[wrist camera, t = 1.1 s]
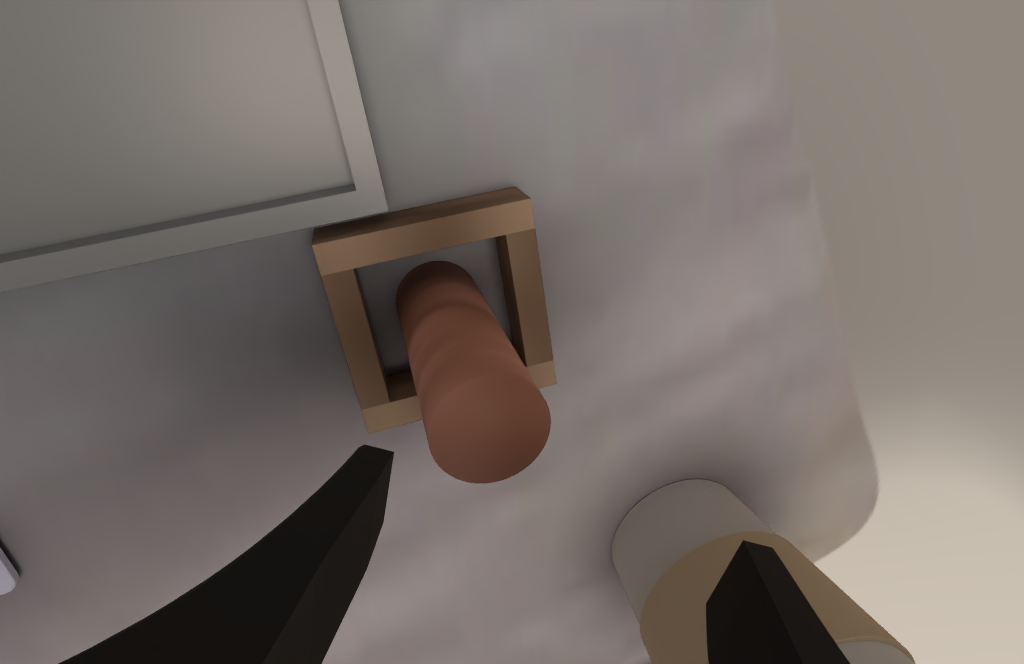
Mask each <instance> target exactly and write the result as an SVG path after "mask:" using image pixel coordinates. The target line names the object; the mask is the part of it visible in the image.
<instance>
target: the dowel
mask: <svg viewBox="0 0 1024 664" xmlns="http://www.w3.org/2000/svg"><path fill="white" fill-rule="evenodd" d="M396 306H397V311H398V316H399V320H400V324H401V328H402V333H403V337H404V341H405V346H406V350H407V354H408V358H409V363H410V367H411V371H412V375H413V380H414V384H415V388H416V393H417V397H418V401H419V405H420V410H421V414H422V418H423V422H424V427H425V431H426V435H427V440H428V444H429V448H430V451H431V454H432V456H433V458H434V460H435V461H436V463H437V464H438V465H439V467H440V468H442V469H443V470H444V471H445V472H446V473H448V474H449V475H451V476H452V477H454V478H456V479H459V480H462V481H466V482H470V483H491V482H496V481H501V480H504V479H507V478H509V477H511V476H513V475H515V474H517V473H519V472H520V471H522V470H523V469H525V468H526V467H527V466H529V465H530V464H531V463H532V462H533V461H534V460H535V459H536V458H537V456H538V455H539V454H540V452H541V451H542V449H543V448H544V446H545V444H546V442H547V439H548V436H549V432H550V424H551V419H550V412H549V408H548V405H547V403H546V401H545V399H544V398H543V396H542V394H541V393H540V391H539V389H538V388H537V386H536V384H535V383H534V381H533V379H532V378H531V376H530V374H529V373H528V371H527V369H526V368H525V366H524V364H523V362H522V361H521V359H520V357H519V356H518V354H517V352H516V351H515V349H514V347H513V346H512V344H511V342H510V341H509V339H508V337H507V336H506V334H505V332H504V331H503V329H502V327H501V326H500V324H499V322H498V321H497V319H496V317H495V316H494V314H493V312H492V311H491V309H490V307H489V306H488V304H487V302H486V301H485V299H484V297H483V296H482V294H481V292H480V291H479V289H478V287H477V286H476V284H475V282H474V281H473V279H472V277H471V276H470V275H469V274H468V273H467V272H466V271H465V270H464V269H463V268H461V267H460V266H458V265H456V264H453V263H450V262H446V261H433V262H428V263H424V264H422V265H420V266H418V267H416V268H414V269H413V270H412V271H410V272H409V273H408V274H407V275H406V276H405V278H404V279H403V280H402V282H401V284H400V286H399V288H398V292H397V297H396Z"/></svg>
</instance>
